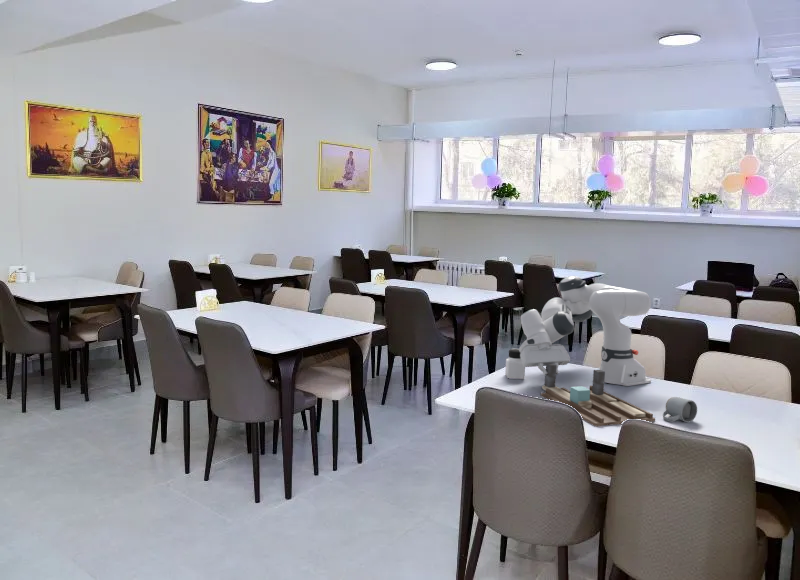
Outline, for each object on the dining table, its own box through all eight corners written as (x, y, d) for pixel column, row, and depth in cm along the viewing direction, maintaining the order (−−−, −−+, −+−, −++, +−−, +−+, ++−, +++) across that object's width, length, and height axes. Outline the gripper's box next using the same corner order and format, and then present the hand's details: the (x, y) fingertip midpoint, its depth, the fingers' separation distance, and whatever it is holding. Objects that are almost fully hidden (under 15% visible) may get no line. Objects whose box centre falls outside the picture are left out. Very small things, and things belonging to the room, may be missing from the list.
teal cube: (581, 399, 238) (582, 386, 237) (589, 403, 233) (590, 390, 233) (569, 400, 237) (570, 387, 236) (577, 404, 232) (578, 390, 231)
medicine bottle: (524, 379, 272) (526, 351, 271) (507, 378, 272) (509, 351, 271) (521, 375, 279) (523, 347, 278) (505, 374, 279) (506, 347, 278)
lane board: (593, 391, 257) (594, 385, 256) (655, 421, 223) (655, 413, 223) (540, 395, 249) (541, 388, 249) (595, 426, 216) (596, 418, 215)
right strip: (553, 387, 257) (554, 362, 255) (591, 407, 232) (593, 380, 231) (542, 388, 255) (543, 363, 254) (579, 408, 231) (581, 381, 229)
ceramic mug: (677, 413, 232) (679, 393, 231) (697, 421, 224) (698, 399, 223) (656, 417, 227) (657, 396, 226) (675, 425, 220) (676, 403, 219)
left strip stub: (600, 395, 248) (602, 369, 247) (616, 402, 239) (618, 376, 238) (589, 395, 247) (591, 370, 245) (605, 403, 237) (607, 376, 236)
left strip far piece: (620, 404, 237) (620, 401, 237) (645, 416, 224) (645, 413, 224) (608, 405, 236) (608, 402, 235) (633, 417, 222) (633, 414, 222)
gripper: (559, 347, 267) (571, 376, 259) (515, 349, 260) (525, 379, 252) (566, 339, 262) (578, 368, 254) (521, 341, 256) (531, 371, 248)
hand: (551, 374), depth 253 cm, fingers closed on right strip, 3 cm apart
